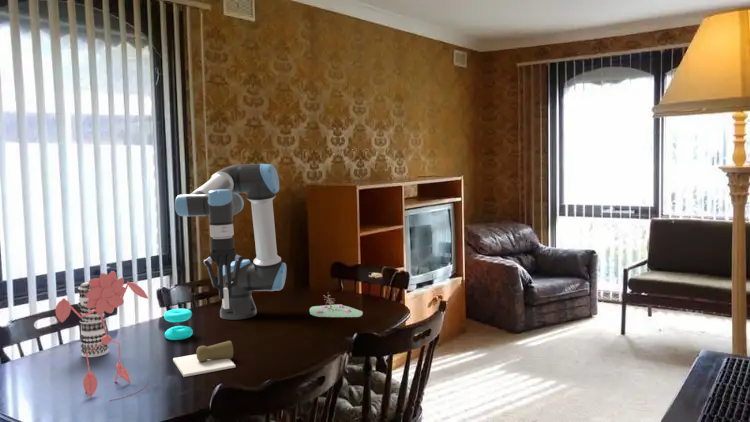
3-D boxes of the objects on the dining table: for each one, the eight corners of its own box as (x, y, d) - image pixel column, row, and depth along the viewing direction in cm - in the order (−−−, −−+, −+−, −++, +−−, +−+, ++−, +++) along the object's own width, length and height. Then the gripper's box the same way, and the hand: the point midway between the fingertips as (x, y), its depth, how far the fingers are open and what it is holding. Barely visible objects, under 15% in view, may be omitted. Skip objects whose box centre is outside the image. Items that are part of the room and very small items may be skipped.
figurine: (54, 400, 171) (47, 277, 168) (138, 373, 192) (133, 262, 188) (83, 414, 162) (76, 284, 159) (167, 384, 183) (163, 268, 179)
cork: (227, 354, 207) (194, 359, 201) (227, 337, 205) (195, 342, 200) (232, 361, 202) (199, 367, 196) (233, 344, 200) (200, 349, 195)
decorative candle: (115, 350, 216) (111, 280, 214) (95, 358, 207) (90, 285, 205) (95, 348, 219) (90, 279, 217) (74, 356, 210) (69, 284, 208)
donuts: (158, 311, 229) (182, 306, 236) (160, 337, 230) (184, 331, 237) (172, 315, 222) (196, 310, 229) (173, 342, 223) (198, 336, 230)
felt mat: (173, 360, 203) (172, 358, 203) (221, 352, 211) (221, 349, 211) (183, 377, 187) (183, 374, 187) (235, 367, 195) (235, 364, 195)
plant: (374, 309, 266) (373, 289, 266) (353, 321, 248) (353, 299, 247) (323, 305, 276) (322, 285, 276) (300, 316, 258) (299, 295, 257)
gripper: (204, 240, 193) (208, 313, 195) (245, 236, 199) (248, 307, 201) (199, 237, 199) (203, 308, 202) (238, 233, 205) (242, 302, 208)
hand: (225, 307), depth 202 cm, fingers closed
